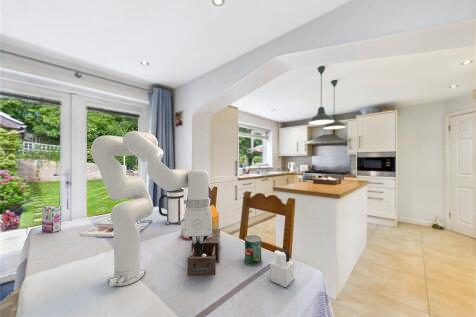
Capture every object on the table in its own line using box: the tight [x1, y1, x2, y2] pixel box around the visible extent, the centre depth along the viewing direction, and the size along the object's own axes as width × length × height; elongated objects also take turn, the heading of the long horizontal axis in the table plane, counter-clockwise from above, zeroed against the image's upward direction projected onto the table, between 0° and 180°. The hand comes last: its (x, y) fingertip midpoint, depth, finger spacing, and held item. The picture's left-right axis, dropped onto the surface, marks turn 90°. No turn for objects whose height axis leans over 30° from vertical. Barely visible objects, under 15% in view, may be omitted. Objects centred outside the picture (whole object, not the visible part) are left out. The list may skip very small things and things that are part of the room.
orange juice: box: [209, 204, 220, 229], centre depth 122 cm, size 8×9×20 cm
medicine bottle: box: [269, 248, 295, 288], centre depth 81 cm, size 7×7×12 cm
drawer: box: [186, 245, 217, 277], centre depth 88 cm, size 21×12×7 cm, turn 3°
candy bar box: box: [41, 205, 62, 234], centre depth 134 cm, size 11×5×16 cm, turn 73°
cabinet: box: [190, 228, 221, 263], centre depth 103 cm, size 18×13×9 cm
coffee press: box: [158, 188, 186, 225], centre depth 152 cm, size 17×16×30 cm
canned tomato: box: [244, 234, 262, 267], centre depth 95 cm, size 8×8×11 cm
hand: (198, 252), depth 73 cm, fingers closed
